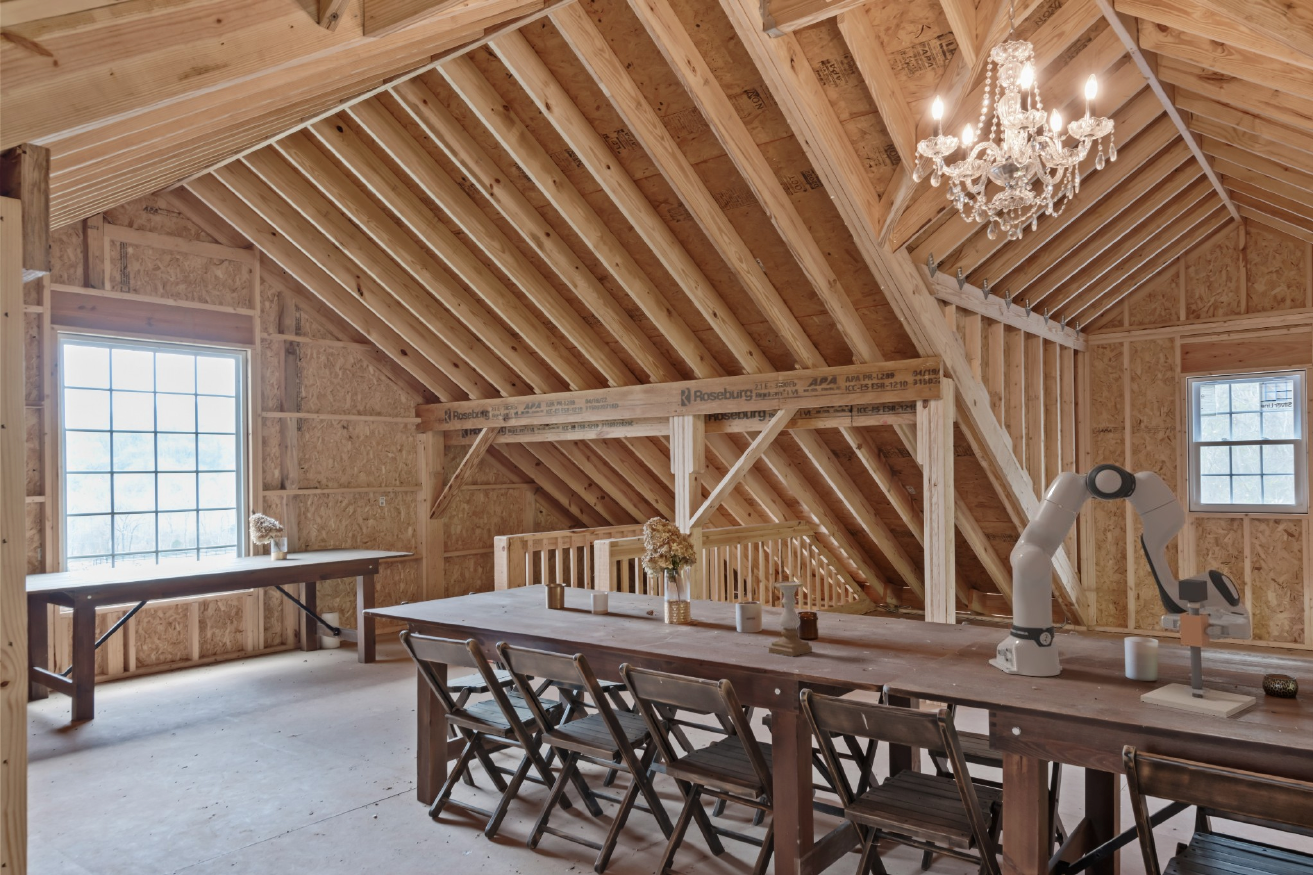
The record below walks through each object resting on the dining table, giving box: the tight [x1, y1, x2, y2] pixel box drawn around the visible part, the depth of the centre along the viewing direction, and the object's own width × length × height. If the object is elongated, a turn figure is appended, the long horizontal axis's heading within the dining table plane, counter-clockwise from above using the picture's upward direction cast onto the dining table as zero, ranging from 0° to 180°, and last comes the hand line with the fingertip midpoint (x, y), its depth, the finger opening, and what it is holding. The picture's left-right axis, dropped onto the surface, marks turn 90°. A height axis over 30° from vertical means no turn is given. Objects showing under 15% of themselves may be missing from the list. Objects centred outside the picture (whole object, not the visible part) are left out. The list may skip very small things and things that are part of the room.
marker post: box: [1140, 578, 1257, 719], centre depth 224 cm, size 20×20×32 cm
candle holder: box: [768, 580, 813, 657], centre depth 294 cm, size 11×11×24 cm
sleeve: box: [1179, 612, 1211, 648], centre depth 224 cm, size 5×5×8 cm
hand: (1193, 629), depth 224 cm, fingers closed on sleeve, 5 cm apart
